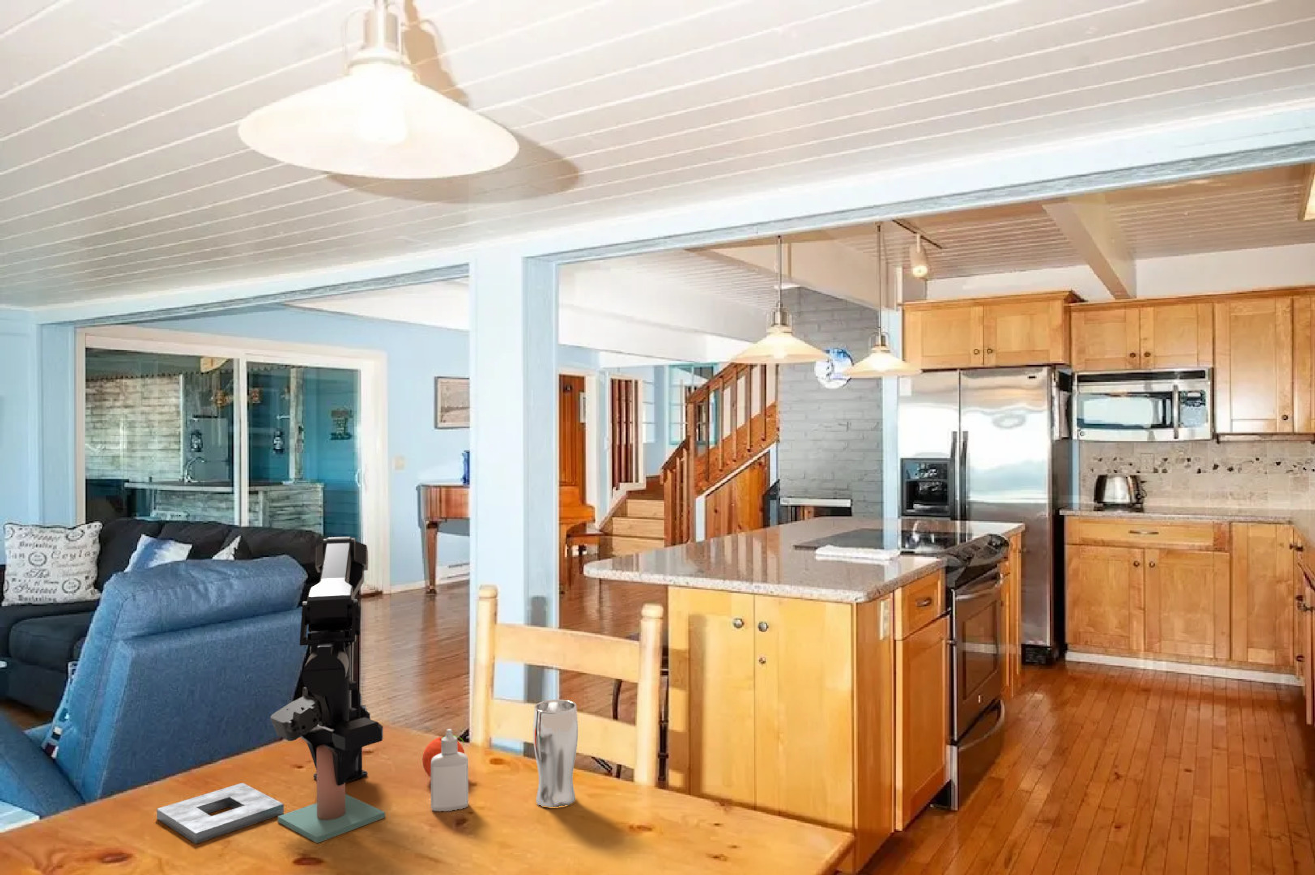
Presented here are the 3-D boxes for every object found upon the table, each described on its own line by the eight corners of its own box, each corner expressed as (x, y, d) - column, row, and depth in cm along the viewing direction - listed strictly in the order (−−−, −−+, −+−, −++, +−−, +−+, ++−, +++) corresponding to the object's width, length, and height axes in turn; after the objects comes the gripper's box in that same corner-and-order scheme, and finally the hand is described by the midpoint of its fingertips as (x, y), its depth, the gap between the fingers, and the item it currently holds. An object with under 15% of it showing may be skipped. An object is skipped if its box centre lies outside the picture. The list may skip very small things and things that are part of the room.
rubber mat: (344, 798, 145) (344, 793, 145) (384, 817, 138) (384, 812, 138) (277, 821, 136) (277, 816, 136) (317, 843, 129) (317, 837, 129)
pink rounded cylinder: (336, 806, 140) (335, 741, 140) (350, 813, 137) (350, 746, 137) (311, 815, 137) (311, 748, 136) (326, 822, 134) (325, 754, 134)
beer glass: (525, 806, 142) (524, 709, 141) (547, 789, 148) (546, 697, 148) (565, 813, 139) (564, 714, 139) (585, 796, 145) (585, 702, 145)
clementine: (450, 766, 158) (450, 725, 158) (478, 775, 154) (478, 733, 154) (413, 781, 152) (413, 738, 152) (441, 790, 148) (441, 746, 148)
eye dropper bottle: (459, 815, 138) (459, 736, 138) (426, 811, 140) (425, 732, 140) (472, 803, 143) (472, 726, 142) (440, 799, 144) (439, 723, 144)
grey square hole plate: (242, 792, 147) (242, 782, 147) (283, 813, 139) (283, 804, 139) (156, 819, 137) (156, 809, 137) (195, 844, 129) (195, 833, 129)
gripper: (247, 677, 136) (248, 781, 137) (313, 701, 124) (314, 815, 125) (316, 662, 145) (317, 760, 145) (385, 683, 133) (385, 790, 133)
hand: (331, 780), depth 137 cm, fingers open, 5 cm apart
